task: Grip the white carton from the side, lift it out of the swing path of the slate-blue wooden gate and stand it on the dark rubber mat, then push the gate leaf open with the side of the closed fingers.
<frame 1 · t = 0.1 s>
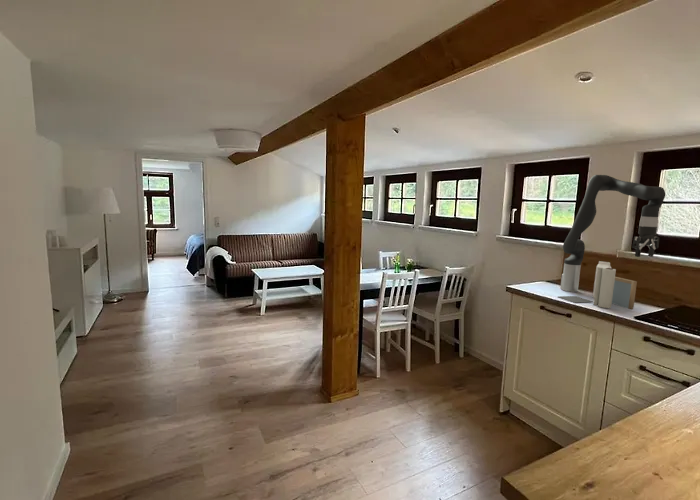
hand: (644, 256, 196), 29 cm above the worktop, tool pointing down, fingers open, 8 cm apart
mat: (575, 299, 219), on the worktop
gate post: (599, 301, 217), on the worktop
milk: (600, 298, 226), on the worktop
gate: (619, 291, 205), point 9 cm above the worktop, hinge at 0.0°
white carton: (603, 307, 206), on the worktop
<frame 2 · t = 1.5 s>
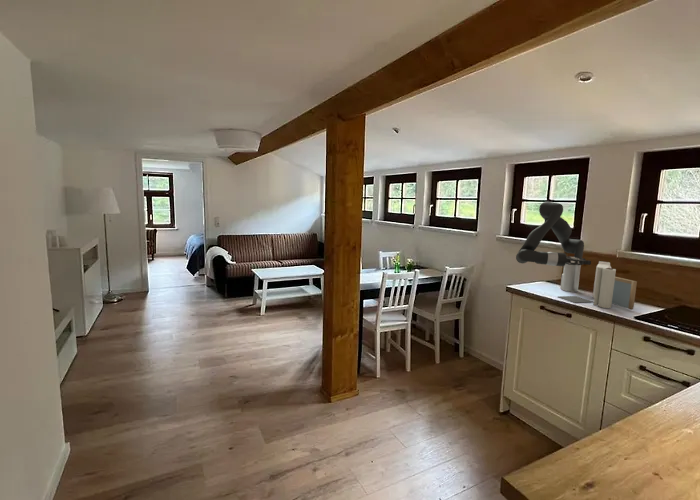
hand: (587, 261, 205), 24 cm above the worktop, tool horizontal, fingers open, 8 cm apart
nothing on the worktop moved.
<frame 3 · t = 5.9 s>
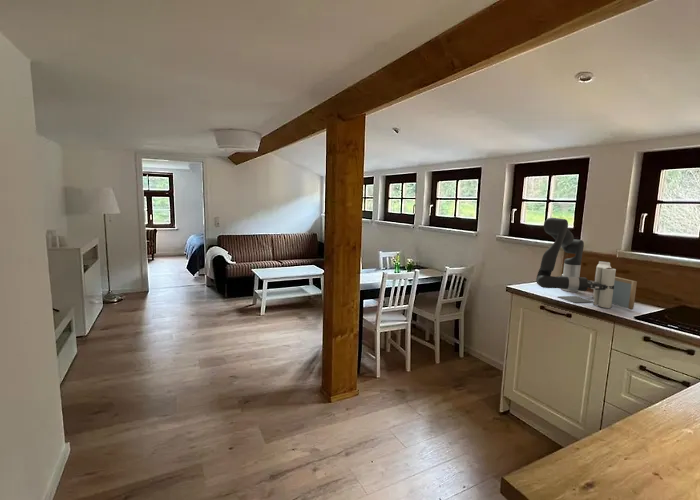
hand: (612, 286, 203), 12 cm above the worktop, tool horizontal, fingers closed on white carton, 3 cm apart
white carton: (603, 306, 206), on the worktop, touching gripper
everything else where it was.
when the fingers open (13 cm above the worktop, at t = 10.6 s): white carton drops 1 cm, resting on mat.
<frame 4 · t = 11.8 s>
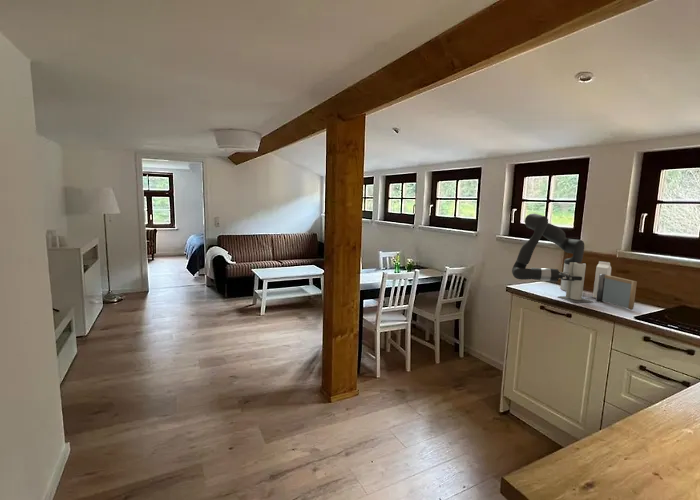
hand: (579, 277, 217), 13 cm above the worktop, tool horizontal, fingers open, 8 cm apart
white carton: (574, 299, 219), resting on mat
everything else where it was.
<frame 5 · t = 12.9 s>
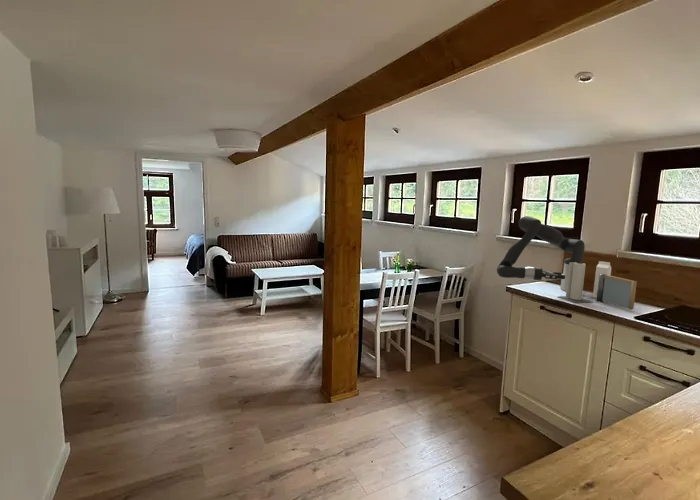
hand: (562, 275, 219), 14 cm above the worktop, tool horizontal, fingers open, 8 cm apart
nothing on the worktop moved.
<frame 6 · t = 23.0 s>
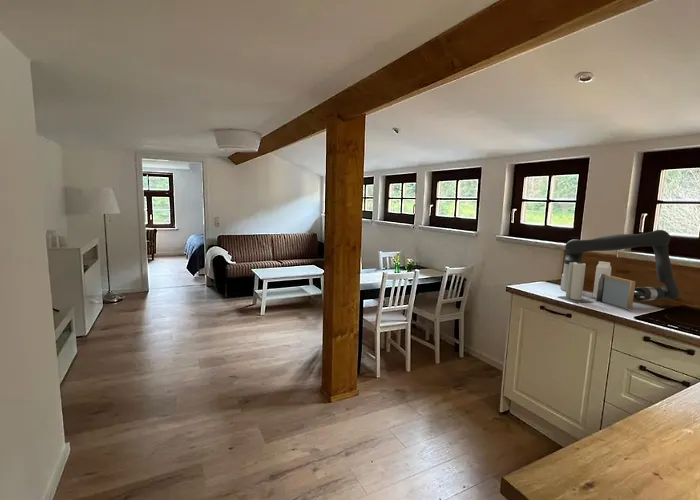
hand: (620, 294, 205), 7 cm above the worktop, tool horizontal, fingers closed
gate: (618, 291, 205), point 9 cm above the worktop, hinge at 2.7°, touching gripper
everything else where it was.
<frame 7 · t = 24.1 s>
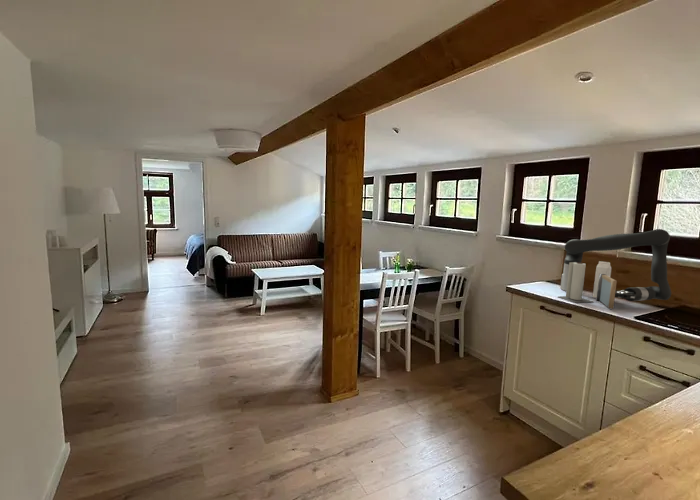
hand: (610, 295, 203), 7 cm above the worktop, tool horizontal, fingers closed
gate: (607, 291, 205), point 8 cm above the worktop, hinge at 31.9°
everything else where it was.
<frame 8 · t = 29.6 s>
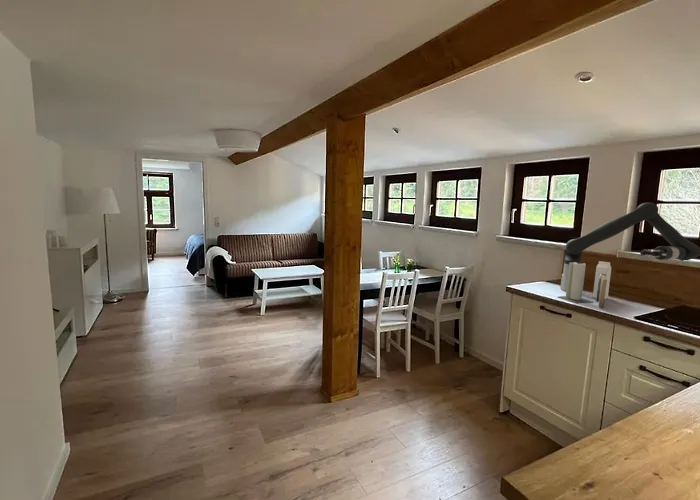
hand: (641, 253, 204), 30 cm above the worktop, tool horizontal, fingers closed
gate: (602, 290, 206), point 8 cm above the worktop, hinge at 45.1°
everything else where it was.
at the end: gate at +45° (first picture: +0°); white carton inside the target area on the mat (0.5 cm from its centre), point 0.2 cm above the mat's base; white carton tilted 0° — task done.
